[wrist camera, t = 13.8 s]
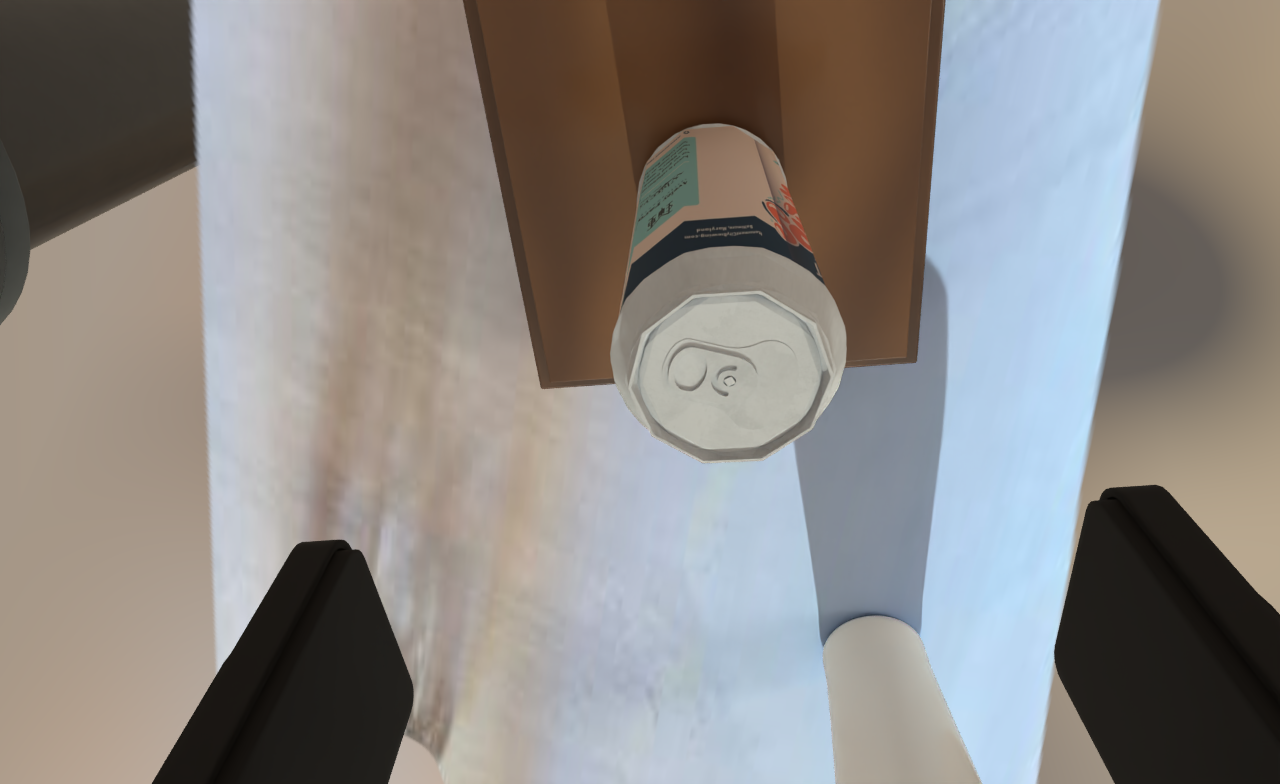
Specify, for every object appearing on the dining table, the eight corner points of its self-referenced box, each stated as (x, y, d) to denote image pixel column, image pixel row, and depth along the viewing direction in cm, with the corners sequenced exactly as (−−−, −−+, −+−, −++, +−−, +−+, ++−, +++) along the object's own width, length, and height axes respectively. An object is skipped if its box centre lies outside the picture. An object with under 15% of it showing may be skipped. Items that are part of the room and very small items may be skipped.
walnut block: (557, 335, 34) (539, 395, 30) (491, -30, 27) (454, -21, 23) (889, 310, 33) (920, 369, 28) (911, -82, 26) (957, -83, 21)
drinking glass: (927, 686, 44) (1026, 1000, 31) (805, 686, 45) (853, 996, 32) (942, 598, 41) (1060, 911, 28) (809, 600, 41) (864, 908, 28)
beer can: (760, 279, 27) (807, 502, 17) (623, 247, 26) (585, 455, 16) (806, 139, 24) (895, 299, 14) (657, 102, 24) (636, 238, 14)
